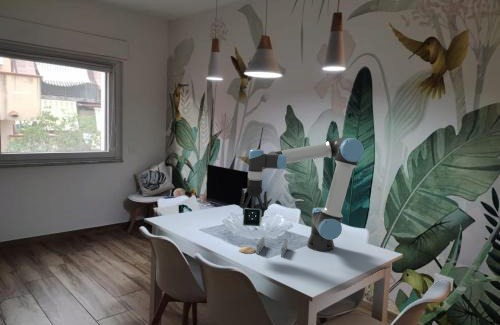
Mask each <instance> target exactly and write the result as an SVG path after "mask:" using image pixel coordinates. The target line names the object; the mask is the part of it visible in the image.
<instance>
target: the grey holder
mask: <svg viewBox="0 0 500 325" xmlns="http://www.w3.org/2000/svg"><path fill="white" fill-rule="evenodd" d="M264 247H265V236H262V237H261V239H259V241H258V243H257V244H256V249H255V250H256V251H255V254H256V255H259V254H260V253H261V252H262V250H263V248H264ZM280 250H281V251H280V258H284V257H285V255H286V252H287V250H288V239H285V241H284V242H283V244H282V245H281V249H280Z"/></svg>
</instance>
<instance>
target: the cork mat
mask: <svg viewBox="0 0 500 325" xmlns="http://www.w3.org/2000/svg"><path fill="white" fill-rule="evenodd" d="M256 250H257V249H255V248H254V247H250V246H242V247H239V249H238V252H240V253H241V254H245V255H249V254H254V253H255V254H256Z"/></svg>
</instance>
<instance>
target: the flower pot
mask: <svg viewBox="0 0 500 325" xmlns="http://www.w3.org/2000/svg"><path fill="white" fill-rule="evenodd" d="M242 216H243V218H242V226H244V227H245V226H246V227H247V226H249V227H260V226H261V223H260V218H261V208H249V207H246V208H244V214H243V213H242Z"/></svg>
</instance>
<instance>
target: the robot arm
mask: <svg viewBox="0 0 500 325" xmlns="http://www.w3.org/2000/svg"><path fill="white" fill-rule="evenodd" d="M364 152H365V148H364V146H363V143H362V142H361V141H360V140H358V139H357V138H354V137H345V136H343V137H339V138H336V139H332V140H327V141H326V142H325V143H319V144H314V145H307V146H302V147H296V148H295V147H294V148H290V149H284V150H278V151H269V152H268V153H264V150H263V149H253V148H252V149H250V150H249V152H248V170H247V172H248V173H247V187H246V188H242V189H241V190H240V191H241V198H240V202H239V208H240V209H242V215H243V214H244V208H248V204H249V202H250V199H251V198H257V201H258V204H259V209H261V218H260V224H262V221H263V217H264V216H265V211H268V208H269V206H268V190H263V170H264V169H276V170H285V169H286V168H287V164H292V163H297V162H298V163H299V162H303V161H310V160H316V159H321V158H322V159H323V158H329V159H332V158H333V159H334V162H335V164H336V166H335V170H334V172H333V177H332V180H331V183H330V187H329V191H328V195H327V198H326V202H325V205H324V207H314V208H312V212H311V228H310V229H311V230H310V235H309V238H308V240H307V246H306V247H307V248H308V249H310V250H312V251H315V252H316V251H317V252H322V253H323V252H325V253H326V252H327V253H328V252H332V251H334V250H335V243H334V240H335V239H336V238H338V237H340V235H341V234H342V232H343V226H342V220H343V214H342V209H343V206H344V202H345V200H346V199H345V198H346V196H347V191H348V188H349V184H350V181H351V177H352V174H353V171H354V168H357V167H358V164H359V161H360V160H361V158H363V156H364ZM246 193H247V194H248V196H247V198H246V200H245V196H246ZM261 194H262V195H263V200H262V198H261ZM244 201H245V202H244ZM263 202H264V204H263Z"/></svg>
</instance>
